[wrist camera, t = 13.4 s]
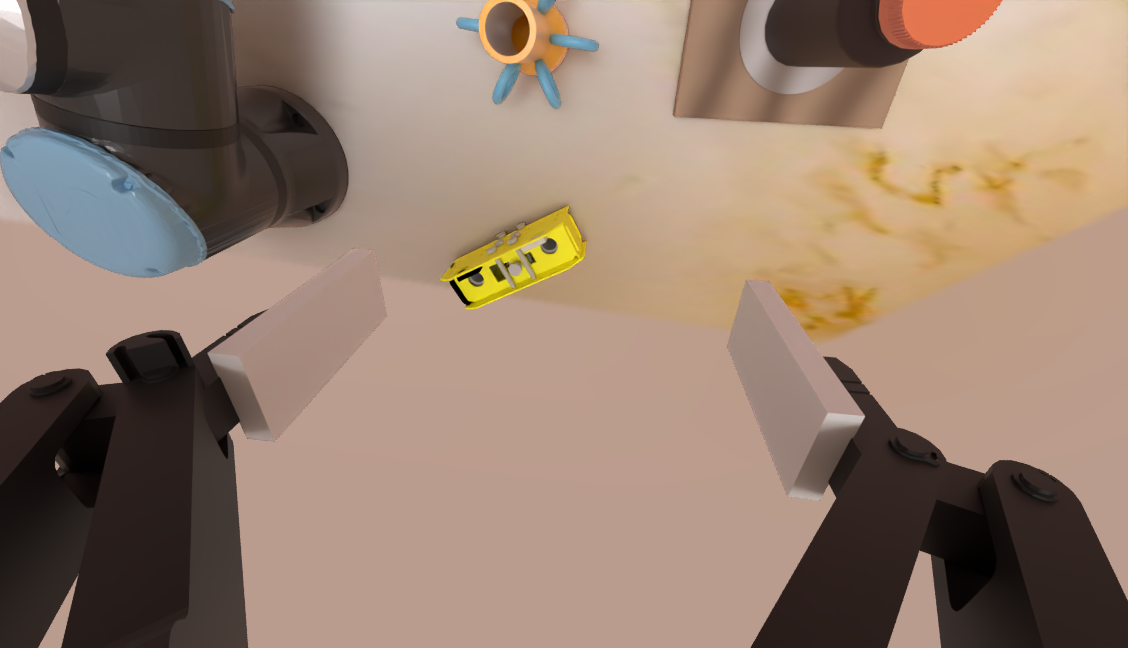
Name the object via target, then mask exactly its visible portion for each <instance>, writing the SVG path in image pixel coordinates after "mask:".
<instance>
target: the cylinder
mask: <svg viewBox="0 0 1128 648" xmlns="http://www.w3.org/2000/svg"><path fill="white" fill-rule="evenodd" d="M555 1H556V0H489V1H488V2H487V3H486V4H485V6H484V7H483V9H482V12H481V14H480V19H479V20H476V19H469V18H461V17H460V18H458V19H457V21H456V24H457V26H458V27H459V28H461V29H465V30H470V31H475V32H479V34H480V38H481V41H482V44H483V46H484V48H485V49H486V51H487V52H488V53H489V54H490V55H491V56H492V57H493V58H494V59H496V60H497V61H500V62H502V63H508V64H507V66H506V67H505V69H504V70H503V72H502V74H501V76H500V78H499V80H498V82H497V84H496V87H495V89H494V93H493V102H494V103H495V104H497V105H499V104H501V103H502V102H503V101H504V100H505V99H506V97H507V96H508V94H509V93H510V91H511V89H512V87H513V85H514V83H515V81H516V79H517V77H518V75H519V72H522V73H524V74H527V75H537V77H538V79H539V82H540V85H541V87H542V89H543V91H544V94H545V96H546V98H547V99H548V101H549V103H550V104H551V106H552V107H553V108H555V109H558V108H560V106H561V98H560V95H559V92H558V89H557V86H556V84H555V81H554V79H553V77H552V74H551V71H553V70H555V69H556V68H557V67H558V66H559V65H560V64H561V63H562V61H563V60H564V58H565V56H566V53H567V50H568V48H574V49H579V50H586V51H592V52H595V51H597V50H598V48H599V44H598V42H596V41H594V40H590V39H585V38H580V37H574V36H569V32H568V28H567V24H566V22H565V20H564V18H563V16H562V15H561V13H560V12H559V11H558V10H557V9H556V8H555V7H554V6H553V4H554V2H555Z"/></svg>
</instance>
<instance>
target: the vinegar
mask: <svg viewBox="0 0 1128 648" xmlns="http://www.w3.org/2000/svg"><path fill="white" fill-rule="evenodd" d="M1001 1H1002V0H775V1H774V3H773V5H772V7H771V9H770V11H769V13H768V17H767V21H766V25H765V41H766V44H767V46H768V49H769V52H770V53H771V55H772V56H773V57H774V58H775V59H776V60H777V61H778V62H780V63H782V64H784V65H786V66H794V67H839V68H883V67H887V66H891V65H895V64H899V63H902V62H903V61H905V60H907V59H909V58H911V57H912V56H914V55H916V54H918V53H919V52H921V51H922V50H923V49H928V48H941V47H944V46H948V45H952V44H953V43H957V42H958V41H962V38H967V36H968V35H972V33H973V32H976V29H977V28H981V25H982V24H985V21H987V20H989V17H990V16H991V15H993V12H994V11H995V10H997V9H996V8H997V7H998V6H999V5H1000V3H1001Z"/></svg>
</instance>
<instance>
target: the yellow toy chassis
mask: <svg viewBox="0 0 1128 648" xmlns="http://www.w3.org/2000/svg"><path fill="white" fill-rule="evenodd" d="M568 210H569V206H566V207H564V208H562V209H560V210H558V211H556V212H554V213H552V214H550V215H548V216H546V217H543V218H541V219H539V220H537V221H535V222H533V223H531V224H529V225H527V226H526V225H525V223H524V222H522V223H520V224H518V225H517V226H516V229H517V230H516V231H514V232H512V233H510V234H508V235H506V233H505V231H503V232H501V233H499V234H498V235H497V236H496V237H497V238H498V239H497V240H495V241H493V242H491V243H489V244H487V245H485V246H483V247H481V248H479V249H477V250H474V251H472V252H470V253H468V254H466V255H464V256H462V257H460V258H458V259H456V260H455V261H454V262H453V264H452V265H451V266H450V267H449V269H448V270H447V271H446V272H445V274H444V275H443V276H442V277H441V279H440V281H449V282H450V285H451V286H452V288H453V289H454V291H455V292H456V293H457V295H458V296H459V298H460V299H461V301H462V302H463V303H464V304H466V307H465V309H477V308H479V307H482V306H484V305H486V304H488V303H491V302H493V301H496V300H498V299H500V298H503V297H505V296H507V295H510V294H512V293H514V292H517V291H519V290H521V289H524V288H526V287H528V286H531V285H533V284H535V283H538V282H540V281H542V280H545V279H547V278H549V277H552V276H554V275H556V274H559V273H561V272H563V271H566V270H568V269H570V268H571V267H573V266H574V265H575V264H577V263H578V262H580V261H581V260H582V259H584V257H585V250H586V244H587V242H586V241H585V242H582V240H581V237H582V236H581V234H580V232H579V230H578V228H577V226H576V224H575V222H574V220H573V218H572V216H571V214H569V213H568ZM507 262H508V264H509V265H510V266H508V267H505V265H504V264H505V263H507Z"/></svg>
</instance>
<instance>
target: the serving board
mask: <svg viewBox="0 0 1128 648" xmlns="http://www.w3.org/2000/svg"><path fill="white" fill-rule="evenodd" d="M774 1H775V0H691V4H690V11H689V17H688V23H687V30H686V36H685V42H684V49H683V55H682V61H681V68H680V74H679V81H678V87H677V93H676V100H675V106H674V112H673V115H674V116H675V117H691V118H708V119H726V120H743V121H760V122H777V123H794V124H811V125H829V126H846V127H863V128H880V129H882V127H883V124H884V121H885V119H886V116H887V114H888V111H889V109H890V106H891V103H892V101H893V98H894V96H895V93H896V91H897V88H898V85H899V83H900V80H901V78H902V75H903V73H904V70H905V67H906V65H907V62H908V60H909V59H907V60H905V61H903V62H902V63H899V64H895V65H891V66H887V67H883V68H839V67H794V66H786V65H784V64H782V63H780V62H778V61H777V60H776V59H775V58H774V57H773V56H772V55H771V53H770V52H769V49H768V46H767V44H766V41H765V25H766V21H767V17H768V13H769V11H770V9H771V7H772V5H773V3H774Z"/></svg>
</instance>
